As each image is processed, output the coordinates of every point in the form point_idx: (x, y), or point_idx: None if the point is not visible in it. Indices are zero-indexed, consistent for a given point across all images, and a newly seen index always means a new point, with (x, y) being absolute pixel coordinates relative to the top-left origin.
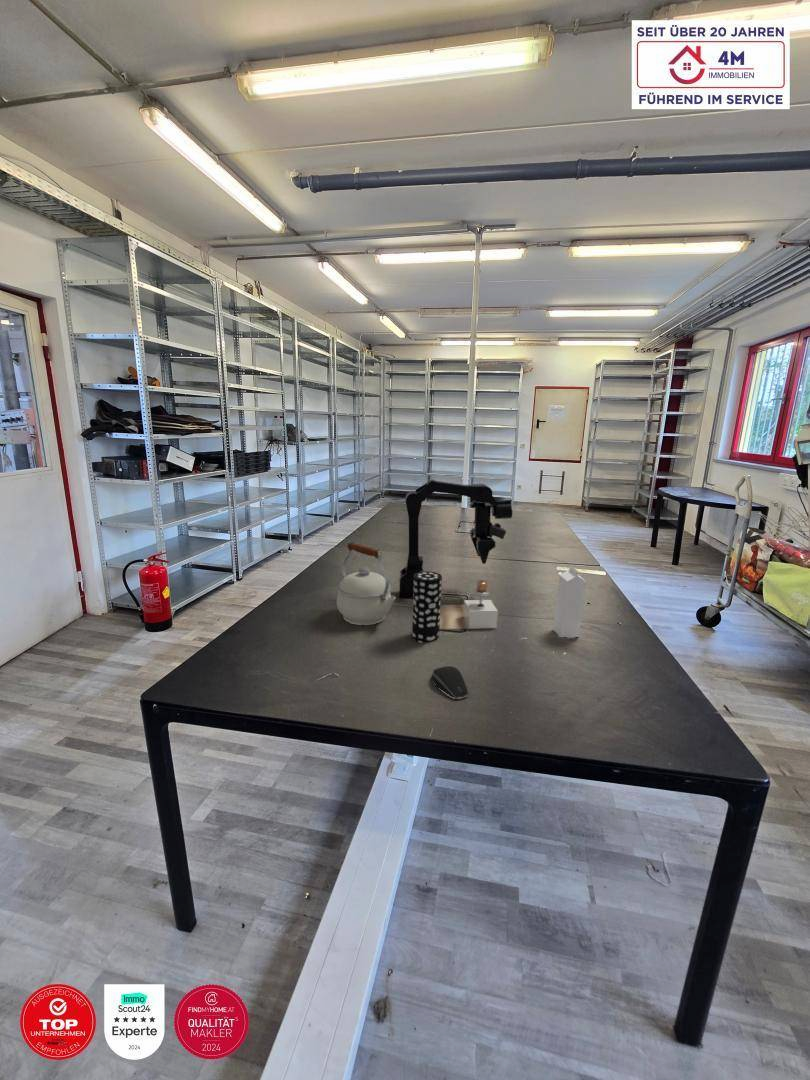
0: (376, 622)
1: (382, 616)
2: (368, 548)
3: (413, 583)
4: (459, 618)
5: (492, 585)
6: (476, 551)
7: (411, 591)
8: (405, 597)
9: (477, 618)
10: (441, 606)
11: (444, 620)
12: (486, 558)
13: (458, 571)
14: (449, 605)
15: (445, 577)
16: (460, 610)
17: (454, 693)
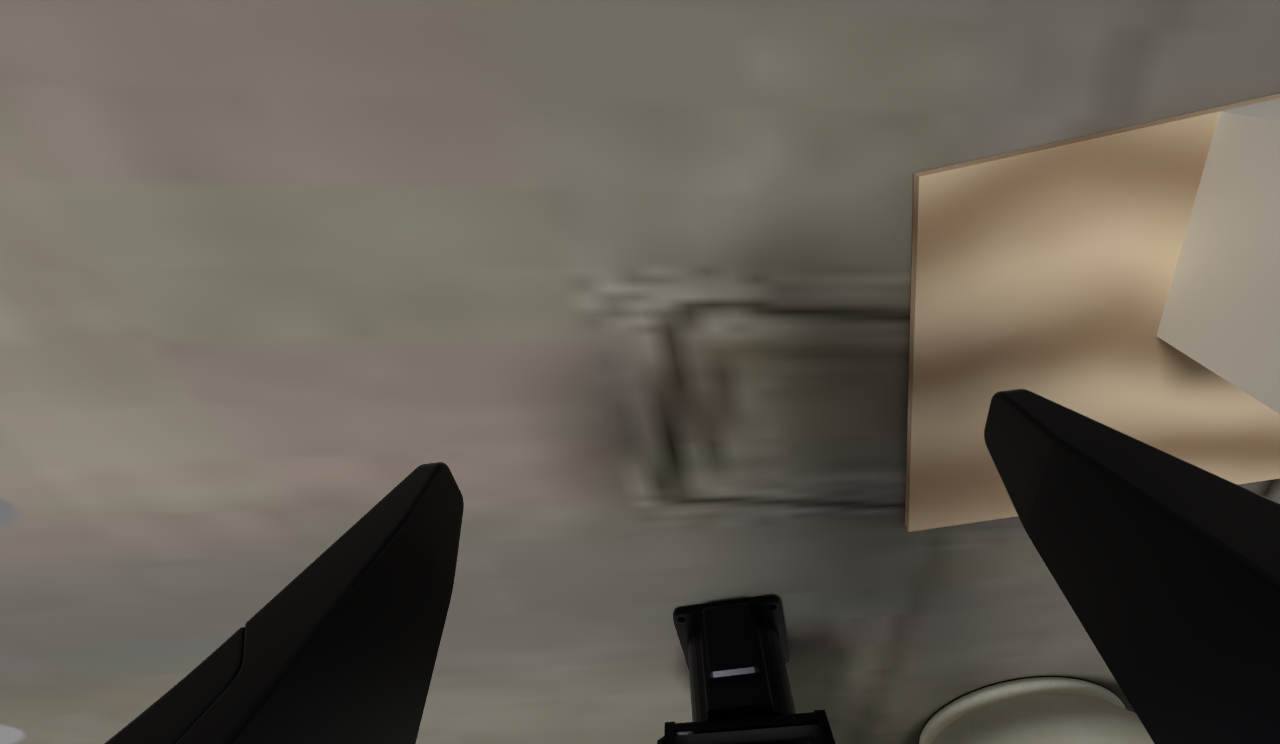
0: (1117, 698)
1: (1130, 711)
2: None
3: (824, 714)
4: (1185, 361)
5: (276, 30)
6: (441, 624)
7: (778, 653)
8: (786, 641)
9: None
10: (939, 475)
11: (1188, 448)
12: (1181, 473)
13: (63, 388)
14: (924, 431)
15: (295, 473)
16: (1031, 357)
17: None
